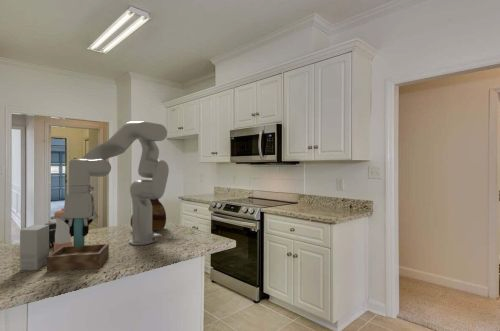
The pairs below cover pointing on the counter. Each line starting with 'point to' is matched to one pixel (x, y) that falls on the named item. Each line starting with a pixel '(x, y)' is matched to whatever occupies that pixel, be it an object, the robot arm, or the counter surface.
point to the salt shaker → (61, 232)
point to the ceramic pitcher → (157, 215)
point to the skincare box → (34, 247)
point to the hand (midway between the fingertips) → (79, 235)
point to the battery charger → (51, 233)
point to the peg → (78, 232)
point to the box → (78, 257)
